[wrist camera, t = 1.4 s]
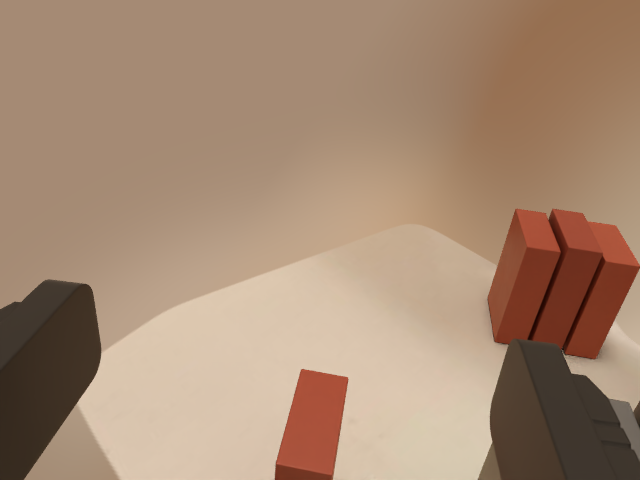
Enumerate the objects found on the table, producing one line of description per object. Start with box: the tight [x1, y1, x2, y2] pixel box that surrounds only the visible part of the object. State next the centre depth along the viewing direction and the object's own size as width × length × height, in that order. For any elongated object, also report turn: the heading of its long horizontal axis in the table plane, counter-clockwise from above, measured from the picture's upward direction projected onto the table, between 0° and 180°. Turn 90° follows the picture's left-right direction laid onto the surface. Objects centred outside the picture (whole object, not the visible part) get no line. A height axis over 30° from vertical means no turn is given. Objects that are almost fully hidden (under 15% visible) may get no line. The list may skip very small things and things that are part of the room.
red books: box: [488, 209, 640, 359], centre depth 47 cm, size 9×6×10 cm
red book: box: [275, 369, 348, 480], centre depth 29 cm, size 3×6×10 cm, turn 170°
